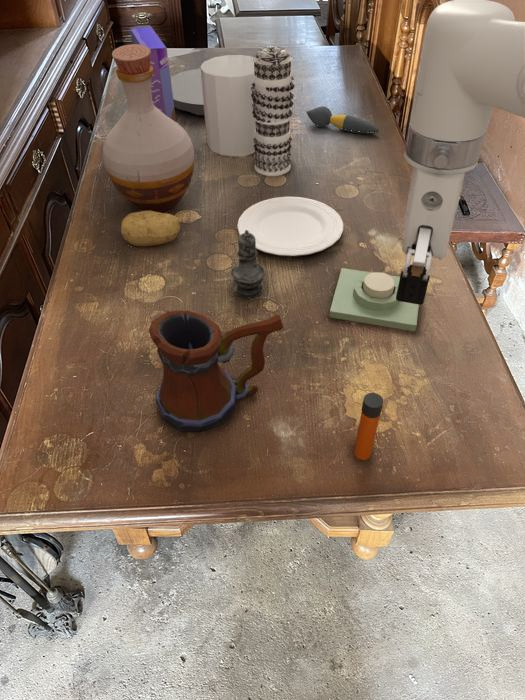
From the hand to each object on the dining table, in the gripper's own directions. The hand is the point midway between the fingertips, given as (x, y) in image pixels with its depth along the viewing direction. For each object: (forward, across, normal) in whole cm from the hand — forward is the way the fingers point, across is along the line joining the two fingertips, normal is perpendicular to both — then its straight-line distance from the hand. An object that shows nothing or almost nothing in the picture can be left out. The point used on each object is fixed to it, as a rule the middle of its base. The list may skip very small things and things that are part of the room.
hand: (413, 276), depth 68 cm
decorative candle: (+18, +57, +35) cm, 69 cm away
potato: (+18, +22, +49) cm, 57 cm away
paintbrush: (+18, +81, +24) cm, 87 cm away
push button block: (+18, +16, +5) cm, 25 cm away
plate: (+18, +32, +24) cm, 44 cm away
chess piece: (+18, +13, +27) cm, 35 cm away
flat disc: (+18, +90, +62) cm, 111 cm away
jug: (+18, +35, +54) cm, 67 cm away
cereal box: (+18, +62, +65) cm, 92 cm away
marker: (+18, -15, +2) cm, 24 cm away
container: (+18, +67, +48) cm, 84 cm away
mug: (+18, -12, +23) cm, 32 cm away
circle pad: (+16, +16, +5) cm, 23 cm away
